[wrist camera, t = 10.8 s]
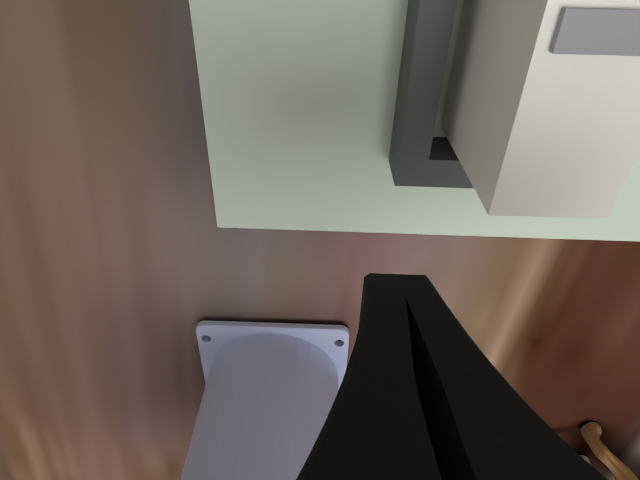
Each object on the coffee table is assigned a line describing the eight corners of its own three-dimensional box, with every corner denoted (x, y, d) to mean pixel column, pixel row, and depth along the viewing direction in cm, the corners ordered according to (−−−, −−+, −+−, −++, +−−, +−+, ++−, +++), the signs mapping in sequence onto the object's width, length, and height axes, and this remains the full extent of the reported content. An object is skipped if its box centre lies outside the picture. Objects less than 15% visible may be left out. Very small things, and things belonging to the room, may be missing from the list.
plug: (524, 128, 16) (612, 222, 11) (441, 126, 16) (490, 219, 11) (572, -34, 13) (719, -6, 8) (470, -37, 13) (555, -10, 8)
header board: (677, 227, 20) (729, 273, 17) (223, 212, 20) (206, 256, 17) (966, -274, 11) (1158, -333, 9) (164, -299, 11) (114, -366, 9)
